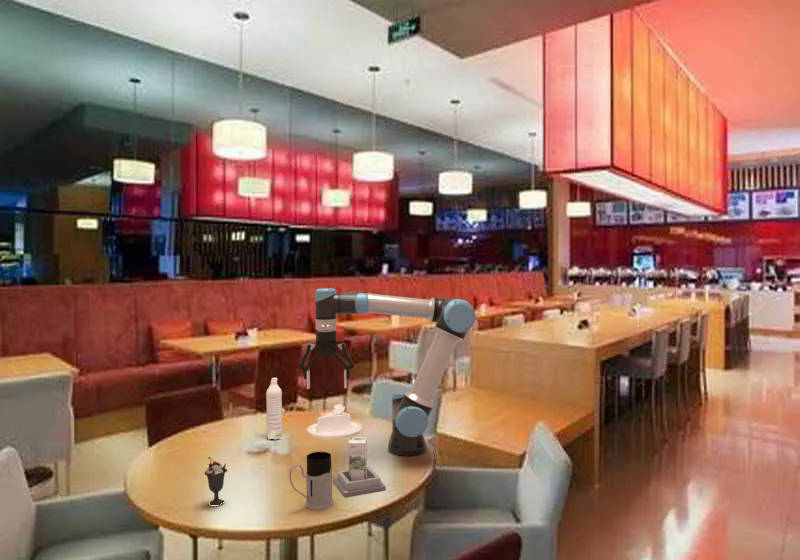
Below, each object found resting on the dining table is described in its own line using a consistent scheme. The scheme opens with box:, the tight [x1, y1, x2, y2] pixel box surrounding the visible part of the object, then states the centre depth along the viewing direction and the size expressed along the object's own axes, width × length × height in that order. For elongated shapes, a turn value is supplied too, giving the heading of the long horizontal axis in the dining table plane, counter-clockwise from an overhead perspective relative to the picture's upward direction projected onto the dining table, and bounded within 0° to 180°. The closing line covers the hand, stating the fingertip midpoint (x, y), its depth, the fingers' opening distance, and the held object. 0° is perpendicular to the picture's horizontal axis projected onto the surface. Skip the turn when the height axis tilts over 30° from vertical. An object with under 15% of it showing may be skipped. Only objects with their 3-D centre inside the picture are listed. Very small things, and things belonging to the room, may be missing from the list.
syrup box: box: [348, 437, 368, 482], centre depth 187 cm, size 6×6×14 cm
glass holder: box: [289, 451, 335, 511], centre depth 172 cm, size 9×14×15 cm, turn 125°
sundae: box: [204, 456, 228, 506], centre depth 174 cm, size 7×7×15 cm
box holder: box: [332, 466, 387, 498], centre depth 187 cm, size 14×14×4 cm
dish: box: [306, 403, 363, 440], centre depth 250 cm, size 25×25×11 cm
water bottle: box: [265, 377, 283, 437], centre depth 240 cm, size 9×6×25 cm
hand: (327, 388), depth 206 cm, fingers open, 13 cm apart
